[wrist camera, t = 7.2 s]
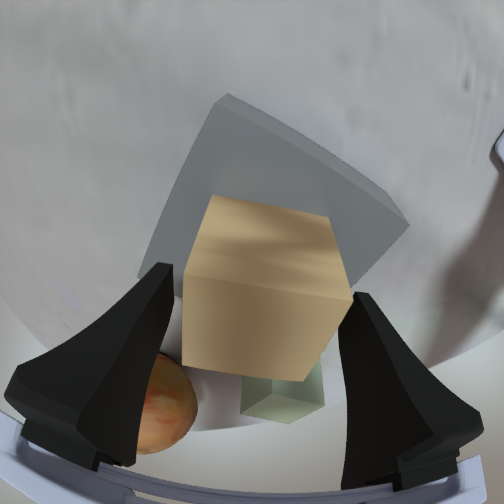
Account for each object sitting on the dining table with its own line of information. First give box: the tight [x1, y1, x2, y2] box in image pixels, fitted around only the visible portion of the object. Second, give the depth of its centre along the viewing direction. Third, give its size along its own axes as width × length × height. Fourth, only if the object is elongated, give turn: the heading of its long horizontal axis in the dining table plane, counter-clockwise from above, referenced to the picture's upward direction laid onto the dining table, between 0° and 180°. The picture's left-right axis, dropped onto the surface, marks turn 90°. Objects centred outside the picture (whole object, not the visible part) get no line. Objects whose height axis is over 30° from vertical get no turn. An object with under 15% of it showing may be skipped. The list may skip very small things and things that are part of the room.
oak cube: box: [182, 195, 353, 382], centre depth 12 cm, size 5×5×5 cm
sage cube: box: [240, 357, 325, 424], centre depth 23 cm, size 5×5×5 cm
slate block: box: [137, 94, 410, 298], centre depth 15 cm, size 10×10×4 cm
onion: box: [136, 353, 198, 454], centre depth 23 cm, size 10×10×10 cm
